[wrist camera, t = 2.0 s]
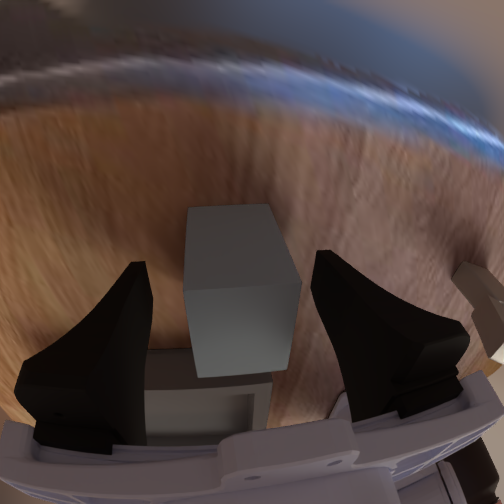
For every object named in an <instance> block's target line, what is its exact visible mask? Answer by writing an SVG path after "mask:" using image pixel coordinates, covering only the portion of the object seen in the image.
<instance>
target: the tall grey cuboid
mask: <svg viewBox="0 0 504 504" xmlns="http://www.w3.org/2000/svg"><path fill="white" fill-rule="evenodd" d="M301 285H302V281H301V279H300V277H299V274H298V272H297V269H296V267H295V265H294V262H293V260H292V257H291V255H290V253H289V250H288V248H287V246H286V243H285V241H284V239H283V236H282V234H281V232H280V229H279V227H278V225H277V222H276V220H275V218H274V216H273V213H272V211H271V209H270V206H269V204H242V205H220V206H202V207H188V214H187V227H186V242H185V259H184V279H183V294H184V301H185V307H186V314H187V320H188V326H189V332H190V338H191V343H192V349H193V355H194V360H195V365H196V371H197V376H198V378H203V377H219V376H231V375H243V374H253V373H262V372H271V371H279V370H287V366H288V361H289V356H290V350H291V345H292V339H293V334H294V328H295V322H296V316H297V310H298V304H299V298H300V291H301Z"/></svg>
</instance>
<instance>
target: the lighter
mask: <svg viewBox="0 0 504 504" xmlns="http://www.w3.org/2000/svg"><path fill="white" fill-rule="evenodd" d="M451 281H452V282H453V283H454V284H455V285H456V287H457V288H458V289H459V290H460V291H461V293H462V294H463V295H464V296H465V298H466V299H467V300H468V301H469V303H470V304H471V305H472V306H473V308H474V311H473V312H472V315H471V317H472V319H473V322H474V324H475V326H476V329H477V331H478V333H479V336H480V338H481V341H482V343H483V346H484V348H485V351H486V354H487V356H488V358H490V359H492V360H494V361H496V362H498V363H500V364H504V286H503V285H502V284H501V283H500V282H499V281H498V280H497V279H496V278H495V277H494V276H493V274H492V273H491V272H490V271H489V270H488V269H485V268H483V267H480V266H477V265H474V264H471V263H469V262H466V261H463V262H462V263H461V265H460V266H459V268H458V269H457V271H456V272H455V274H454V275H453V277H452V278H451Z"/></svg>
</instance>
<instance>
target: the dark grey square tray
mask: <svg viewBox="0 0 504 504" xmlns="http://www.w3.org/2000/svg"><path fill="white" fill-rule="evenodd" d="M272 386H273V380H272V375H271V372H262V373H253V374H243V375H231V376H219V377H203V378H198V376H197V371H196V365H195V360H194V355H193V349H192V348H184V349H158V350H147V356H146V363H145V382H144V398H145V424H146V437H147V446H203V445H219V443H220V442H221V441H222V440H223V439H225V438H227V437H229V436H231V435H233V434H238V433H243V432H248V431H254V430H262V429H266V426H267V420H268V413H269V407H270V400H271V393H272Z"/></svg>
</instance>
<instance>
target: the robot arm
mask: <svg viewBox="0 0 504 504" xmlns="http://www.w3.org/2000/svg"><path fill="white" fill-rule="evenodd" d="M310 288H311V291H312V295H313V299H314V302H315V306H316V308H317V311H318V313H319V315H320V318H321V320H322V322H323V324H324V327H325V329H326V331H327V334H328V336H329V338H330V340H331V343H332V345H333V347H334V350H335V353H336V356H337V359H338V363H339V366H340V370H341V373H342V377H343V381H344V385H345V389H346V392H344V393H342V394H341V395H340V396H339V398H338V400H337V402H336V404H335V406H334V408H333V410H332V412H331V414H330V416H329V418H328V419H323V420H318V421H313V422H307V423H302V424H296V425H290V426H284V427H277V428H270V429H262V430H254V431H248V432H243V433H238V434H233V435H231V436H229V437H227V438H225V439H223V440H222V441H221V442H220V443H219V445H203V446H147V437H146V424H145V398H144V382H145V363H146V356H147V349H148V343H149V337H150V330H151V324H152V314H153V296H152V291H151V287H150V282H149V278H148V273H147V268H146V263H145V261H139V262H131V263H130V264H129V265H128V266H127V268H126V269H125V270H124V272H123V273H122V274H121V276H120V277H119V278H118V280H117V281H116V282H115V283H114V285H113V286H112V287H111V288H110V290H109V291H108V292H107V294H106V295H105V296H104V297H103V298H102V299H101V301H100V302H99V303H98V304H97V305H96V306H95V308H94V309H93V310H92V311H91V312H90V313H89V314H88V315H87V316H86V317H85V318H84V319H83V320H82V321H81V322H79V323H78V324H77V325H76V326H75V327H74V328H72V329H71V330H70V331H69V332H68V333H66V334H65V335H64V336H63V337H61V338H60V339H59V340H57V341H56V342H55V343H53V344H52V345H50V346H49V347H47V348H46V349H44V350H42V351H41V352H39V353H37V354H36V355H34V356H32V357H30V358H29V359H27V360H25V361H24V362H23V364H22V367H21V370H20V373H19V376H18V379H17V382H16V385H15V389H14V394H15V396H16V399H17V400H18V401H19V403H20V404H21V405H22V406H23V407H24V408H25V409H26V410H27V412H28V413H29V414H30V415H31V416H32V417H33V418H34V419H35V420H36V425H35V428H34V427H32V426H30V425H28V424H24V423H20V422H15V421H10V420H5V423H4V427H3V431H2V435H1V439H0V480H2V481H4V482H5V483H7V484H9V485H10V486H12V487H14V488H16V489H18V490H19V491H21V492H23V493H25V494H27V495H29V496H31V497H35V498H39V499H42V500H46V501H49V502H53V503H56V504H451V501H452V504H467V502H466V499H465V496H464V494H463V491H462V488H461V486H460V483H459V481H458V479H457V476H456V474H455V472H454V470H453V468H452V466H451V464H450V462H444V461H443V460H442V459H444V458H445V457H447V456H449V455H451V454H453V453H455V452H456V451H458V450H460V449H462V448H464V447H465V446H467V445H469V444H471V443H472V442H474V441H476V440H477V439H478V438H479V437H481V436H482V435H483V434H484V433H485V432H486V431H488V430H489V429H490V428H491V427H492V426H493V425H494V424H495V423H497V421H499V420H500V419H501V418H502V417H503V416H504V406H503V405H502V403H501V401H500V400H499V398H498V396H497V394H496V392H495V391H494V389H493V387H492V386H491V384H490V382H489V381H488V379H487V377H486V376H485V374H484V373H483V371H482V370H479V371H477V372H475V373H473V374H470V375H468V376H466V377H464V378H463V379H461V380H460V381H459V380H458V379H457V377H456V375H458V373H459V371H458V369H457V368H456V364H457V363H458V362H459V360H460V359H461V357H462V356H463V354H464V353H465V351H466V350H467V348H468V346H469V343H470V336H469V334H468V333H467V331H466V330H465V328H464V327H463V326H462V324H461V323H460V322H459V321H456V320H453V319H449V318H446V317H442V316H439V315H436V314H434V313H431V312H428V311H426V310H423V309H421V308H418V307H416V306H414V305H412V304H410V303H408V302H406V301H404V300H402V299H400V298H398V297H396V296H395V295H393V294H391V293H389V292H388V291H386V290H384V289H383V288H381V287H380V286H378V285H377V284H375V283H374V282H372V281H371V280H369V279H368V278H367V277H365V276H364V275H363V274H361V273H360V272H359V271H357V270H356V269H355V268H353V267H352V266H351V265H350V264H348V263H347V262H346V261H344V260H343V259H342V258H341V257H339V256H338V255H337V254H335V253H334V252H332V251H331V250H318V251H317V252H316V258H315V264H314V270H313V276H312V281H311V287H310ZM440 460H442V461H440ZM438 461H440V462H439V463H438V466H439V468H440V471H441V472H440V473H441V476H442V478H443V480H442V478H441V476H440V473H439V471H438V468H437V466H436V462H438ZM443 481H444V482H443Z"/></svg>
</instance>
